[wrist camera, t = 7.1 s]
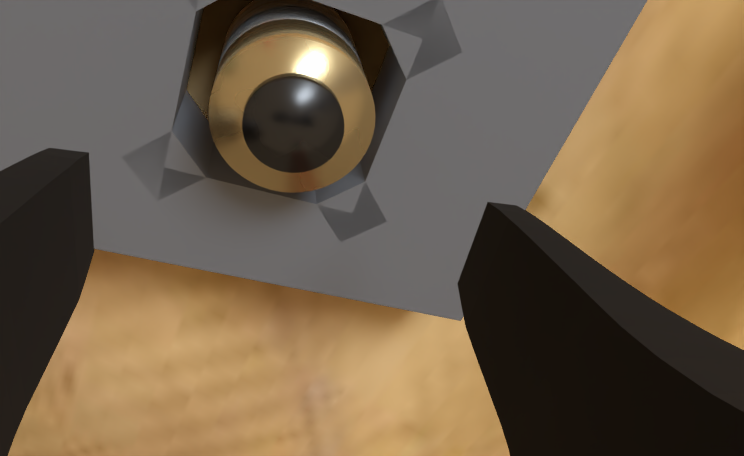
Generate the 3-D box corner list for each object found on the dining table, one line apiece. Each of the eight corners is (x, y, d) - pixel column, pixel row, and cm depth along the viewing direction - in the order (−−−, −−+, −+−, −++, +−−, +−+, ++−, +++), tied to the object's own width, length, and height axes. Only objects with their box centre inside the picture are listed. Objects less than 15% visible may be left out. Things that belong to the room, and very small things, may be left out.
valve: (368, 7, 17) (396, 62, 13) (341, 130, 20) (357, 210, 15) (231, -23, 16) (214, 26, 12) (217, 109, 19) (199, 188, 14)
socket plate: (604, -40, 17) (657, -19, 15) (441, 268, 23) (460, 320, 21) (5, -302, 13) (-60, -334, 10) (-10, 167, 19) (-53, 219, 16)
